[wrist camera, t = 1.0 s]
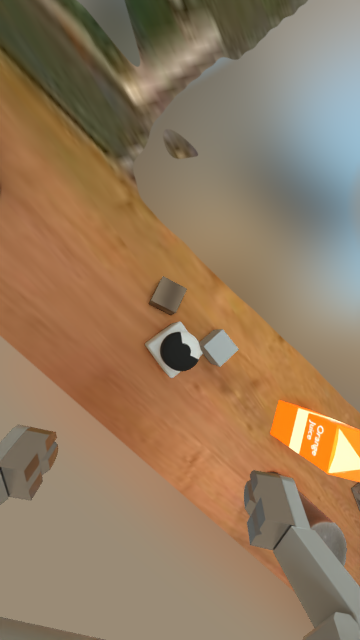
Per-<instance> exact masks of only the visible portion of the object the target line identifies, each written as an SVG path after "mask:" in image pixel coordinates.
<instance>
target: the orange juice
mask: <svg viewBox="0 0 360 640" xmlns="http://www.w3.org/2000/svg"><path fill="white" fill-rule="evenodd" d="M270 434H271V435H273V436H274V437H275V438H277V439H278V440H280V441H281V442H283V443H284V444H286V445H287V446H288V447H290V448H291V449H292V450H294V451H295V452H297V453H298V454H300V455H301V456H303V457H304V458H306V459H307V460H309V461H310V462H312V463H313V464H314V465H316V466H317V467H319V468H320V469H322V470H323V471H325V472H326V473H327V474H330V475H334V476H337V477H341V478H345V479H349V480H353V481H357V482H360V430H359V429H356V428H354V427H351V426H349V425H346V424H344V423H342V422H340V421H337V420H335V419H332V418H329V417H327V416H324V415H322V414H319V413H317V412H315V411H312V410H309V409H306V408H303V407H300V406H297V405H293V404H290V403H287V402H284V401H281V400H279V402H278V405H277V409H276V413H275V417H274V421H273V425H272V429H271V433H270Z"/></svg>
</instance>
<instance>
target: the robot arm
mask: <svg viewBox="0 0 360 640" xmlns="http://www.w3.org/2000/svg"><path fill="white" fill-rule="evenodd" d="M56 438H57V436H56V432H53V431H48V430H43V429H38V428H33V427H28V426H23V425H17V426H16V427H14V428H13V429H12V430H11V431H10V432H9V433H8V434H7V436H6V437H5V438H4V439H3V440H2V441H1V442H0V505H1V504H2V503H3V502H5V501H6V500H7V499H8V497H13V498H19V499H25V500H32V498H33V496H34V495H35V493H36V492H37V490H38V488H39V487H40V485H41V483H42V475H43V474H44V473H46V472H47V471H49V470H50V468H51V467H52V465H53V463H54V461H55V459H56V456H57V453H58V445H57V444H56V442H55V440H56ZM250 478H251V480H249V481H247V483H246V485H245V490H244V503H245V509H246V511H247V512H248V514H249V515H250V518H249V520H248V522H247V525H248V532H249V539H250V545H252V546H257V547H261V548H265V549H269V550H273V553H274V554H275V556H276V558H277V560H278V562H279V564H280V565H281V567H282V569H283V571H284V573H285V575H286V576H287V578H288V580H289V582H290V584H291V586H292V587H293V589H294V591H295V593H296V595H297V597H298V598H299V600H300V602H301V604H302V606H303V608H304V609H305V611H306V613H307V615H308V617H309V619H310V620H311V622H312V624H313V626H314V629H313V630H312V631H311V632H309V633H308V634H307V635H305V636H304V638H303V640H360V587H359V585H358V584H357V583H356V582H355V580H354V579H353V578H352V577H351V575H350V574H349V573H348V572H347V570H346V569H345V568H344V567H343V565H342V564H341V563H340V561H339V560H338V559H337V558H336V556H335V555H334V554H333V553H332V551H331V550H330V549H329V548H328V546H327V545H326V544H325V542H324V541H323V540H322V539H321V537H320V536H319V535H318V534H317V532H316V531H315V530H311V528H310V525H309V522H308V520H307V517H306V514H305V511H304V508H303V505H302V502H301V499H300V496H299V493H298V490H297V487H296V484H295V482H294V480H293V479H292V478H291V477H287V476H282V475H278V474H273V473H267V472H261V471H255V470H253V471H252V472H251V474H250ZM0 640H104V639H100V638H95V637H90V636H86V635H81V634H76V633H72V632H67V631H62V630H58V629H54V628H49V627H44V626H40V625H35V624H30V623H25V622H21V621H17V620H12V619H8V618H3V617H0Z"/></svg>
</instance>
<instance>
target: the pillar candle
mask: <svg viewBox="0 0 360 640" xmlns="http://www.w3.org/2000/svg"><path fill="white" fill-rule="evenodd" d="M267 473H273V474H278V473H276V472H267ZM278 475H280V474H278ZM298 493H299V496H300V499H301V502H302V505H303V508H304V511H305V514H306V517H307V520H308V522H309V525H310V528H311V530H315V531H316V532H317V534H318V535H319V536H320V537H321V539H322V540H323V541H324V542H325V544H326V545H327V546H328V548H329V549H330V550H331V551H332V553H333V554H334V555H335V556H336V558H337V559H338V560H339V561H340V563H341V564H342V565H343V567H344V565H345V560H346V551H347V548H346V541H345V538H344V534H343V533H342V531H341V529H340V528H339V527H338V526H337V524H335V523H333V522H332V521H331V520H330V519H329V518H328V517H327V516H326V515H325V514H324V513H322V512H321V511H320V510H319V509H318V508H317V507H316V506H315V505H314V504H313V503H312V502H310V501H309V500H308V499H307V498H306V497H305V496H304V495H303V494H302V493H300V492H299V491H298Z"/></svg>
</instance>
